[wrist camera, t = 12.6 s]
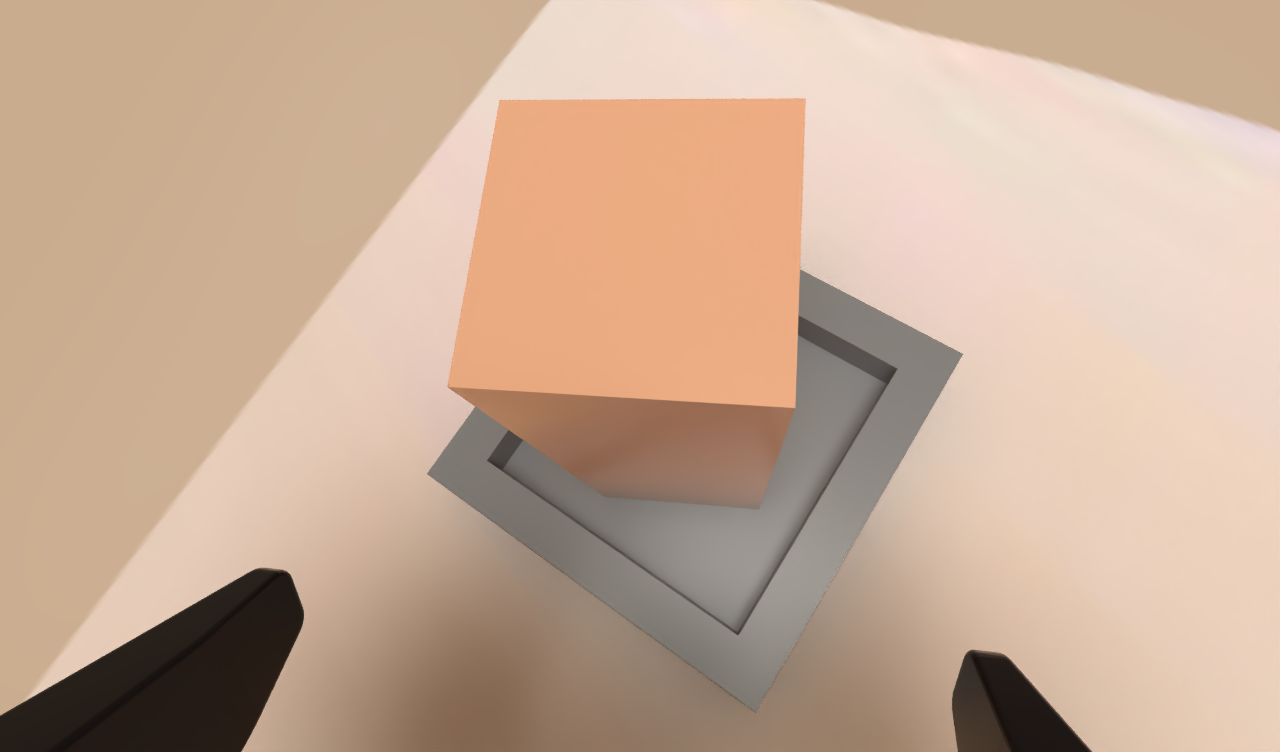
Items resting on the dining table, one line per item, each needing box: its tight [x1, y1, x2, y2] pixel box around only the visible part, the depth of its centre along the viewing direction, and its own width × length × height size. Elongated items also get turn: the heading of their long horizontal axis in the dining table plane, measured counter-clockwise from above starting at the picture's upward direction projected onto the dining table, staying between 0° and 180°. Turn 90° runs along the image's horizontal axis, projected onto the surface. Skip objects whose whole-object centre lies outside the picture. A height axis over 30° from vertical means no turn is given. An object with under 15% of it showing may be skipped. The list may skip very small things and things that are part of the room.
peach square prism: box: [448, 99, 806, 509], centre depth 17 cm, size 5×5×13 cm
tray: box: [427, 270, 963, 713], centre depth 22 cm, size 12×12×2 cm
